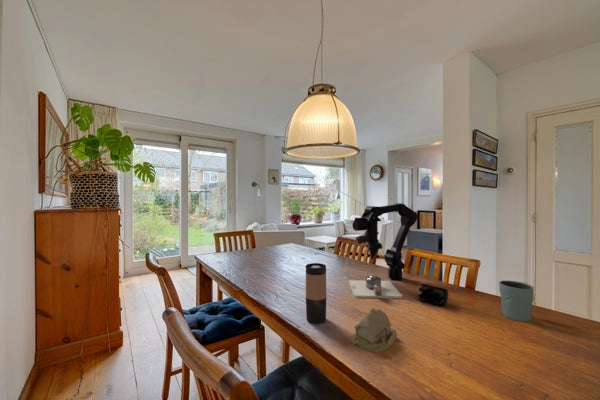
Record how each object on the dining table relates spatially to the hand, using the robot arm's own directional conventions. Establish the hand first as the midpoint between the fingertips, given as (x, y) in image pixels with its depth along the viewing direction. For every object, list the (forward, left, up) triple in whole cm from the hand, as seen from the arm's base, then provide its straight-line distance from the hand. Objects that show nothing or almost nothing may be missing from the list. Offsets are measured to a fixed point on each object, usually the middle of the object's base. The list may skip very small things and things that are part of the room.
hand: (372, 259), depth 138 cm
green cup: (-45, +38, -12) cm, 60 cm away
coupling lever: (+2, +16, -11) cm, 20 cm away
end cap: (-20, +26, -12) cm, 35 cm away
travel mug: (+30, +44, -12) cm, 55 cm away
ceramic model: (+12, +57, -12) cm, 59 cm away
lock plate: (+2, +12, -12) cm, 17 cm away
